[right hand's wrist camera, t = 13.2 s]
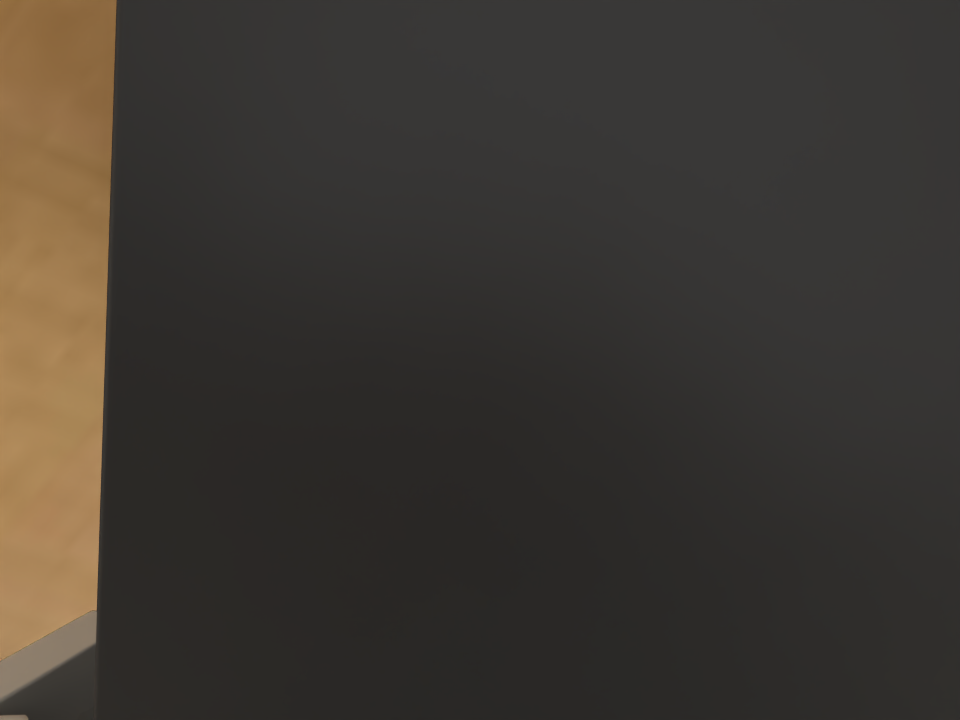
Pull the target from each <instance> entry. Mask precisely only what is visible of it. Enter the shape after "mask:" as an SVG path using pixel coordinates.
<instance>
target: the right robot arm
mask: <svg viewBox="0 0 960 720" xmlns="http://www.w3.org/2000/svg"><path fill="white" fill-rule="evenodd" d="M96 623H97V611H90V612H88V613H86V614H85V615H83V616H81V617H79V618H77V619H75V620H74V621H72V622H70V623H68V624H66V625H65V626H63V627H61V628H59V629H57V630H56V631H54V632H52V633H50V634H48V635H47V636H45V637H43V638H41V639H39V640H37V641H36V642H34V643H32V644H30V645H28V646H27V647H25V648H23V649H21V650H19V651H18V652H16V653H14V654H12V655H10V656H9V657H7V658H5V659H3V660H1V661H0V720H93V715H94V685H95V654H96Z"/></svg>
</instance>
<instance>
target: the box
mask: <svg viewBox="0 0 960 720" xmlns="http://www.w3.org/2000/svg"><path fill="white" fill-rule="evenodd" d="M93 720H960V0H117V9H116V39H115V70H114V101H113V132H112V162H111V193H110V224H109V255H108V285H107V316H106V347H105V377H104V408H103V439H102V470H101V500H100V531H99V562H98V592H97V623H96V654H95V685H94V715H93Z"/></svg>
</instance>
